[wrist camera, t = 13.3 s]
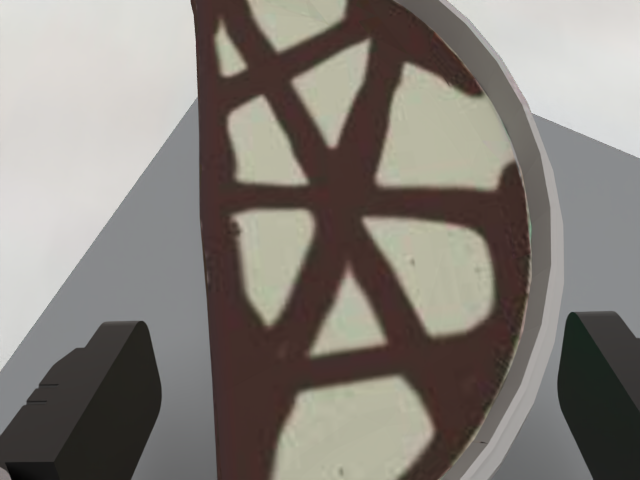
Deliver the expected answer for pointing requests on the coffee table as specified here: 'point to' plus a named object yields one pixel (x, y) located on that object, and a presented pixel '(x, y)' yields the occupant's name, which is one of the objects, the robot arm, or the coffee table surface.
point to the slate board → (192, 317)
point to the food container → (370, 241)
